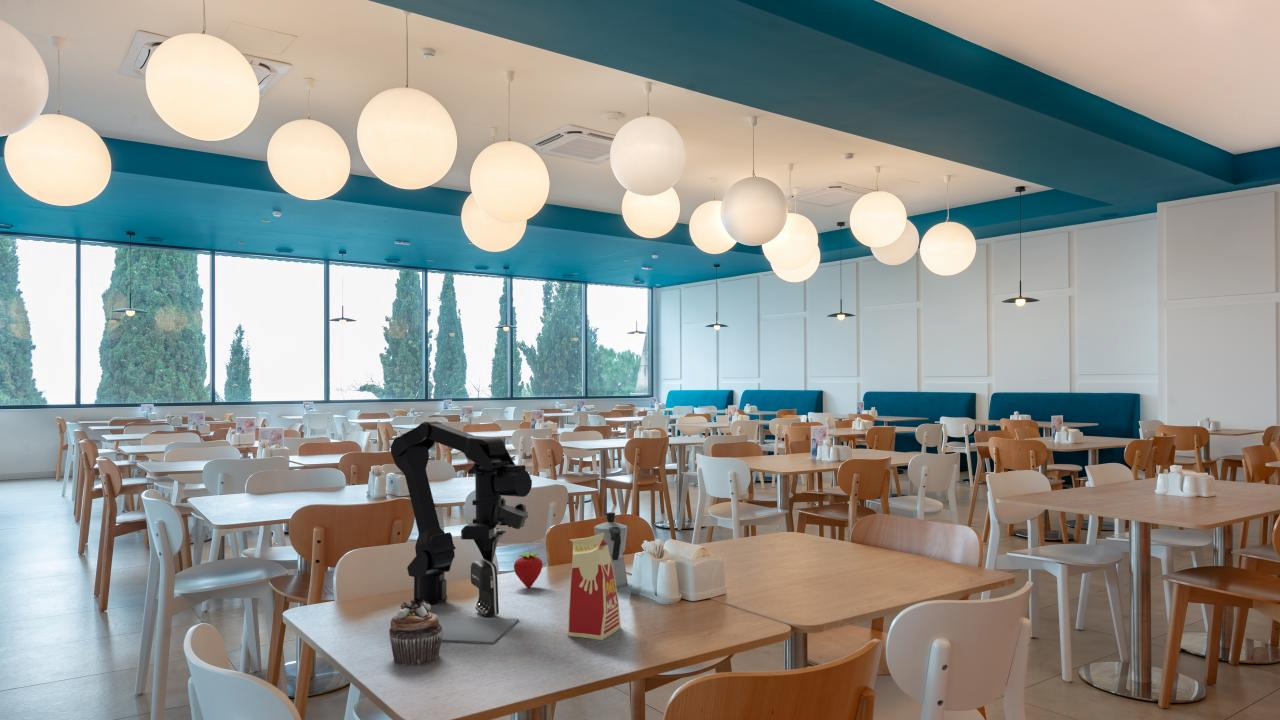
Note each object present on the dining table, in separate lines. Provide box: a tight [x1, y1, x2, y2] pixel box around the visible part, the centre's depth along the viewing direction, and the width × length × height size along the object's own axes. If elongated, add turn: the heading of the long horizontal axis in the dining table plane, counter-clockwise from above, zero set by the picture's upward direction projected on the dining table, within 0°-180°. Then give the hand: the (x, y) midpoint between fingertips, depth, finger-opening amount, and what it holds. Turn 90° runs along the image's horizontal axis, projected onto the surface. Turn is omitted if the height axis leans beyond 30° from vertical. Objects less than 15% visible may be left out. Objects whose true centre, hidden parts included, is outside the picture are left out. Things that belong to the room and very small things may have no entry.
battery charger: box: [470, 558, 500, 618], centre depth 176 cm, size 7×4×11 cm, turn 35°
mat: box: [437, 615, 520, 645], centre depth 165 cm, size 18×16×1 cm
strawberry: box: [513, 546, 544, 588], centre depth 201 cm, size 6×8×10 cm
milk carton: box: [567, 533, 622, 641], centre depth 164 cm, size 9×9×20 cm
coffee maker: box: [593, 511, 629, 588], centre depth 204 cm, size 15×9×18 cm, turn 14°
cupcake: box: [388, 600, 444, 666], centre depth 148 cm, size 10×10×10 cm
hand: (489, 565), depth 179 cm, fingers closed
